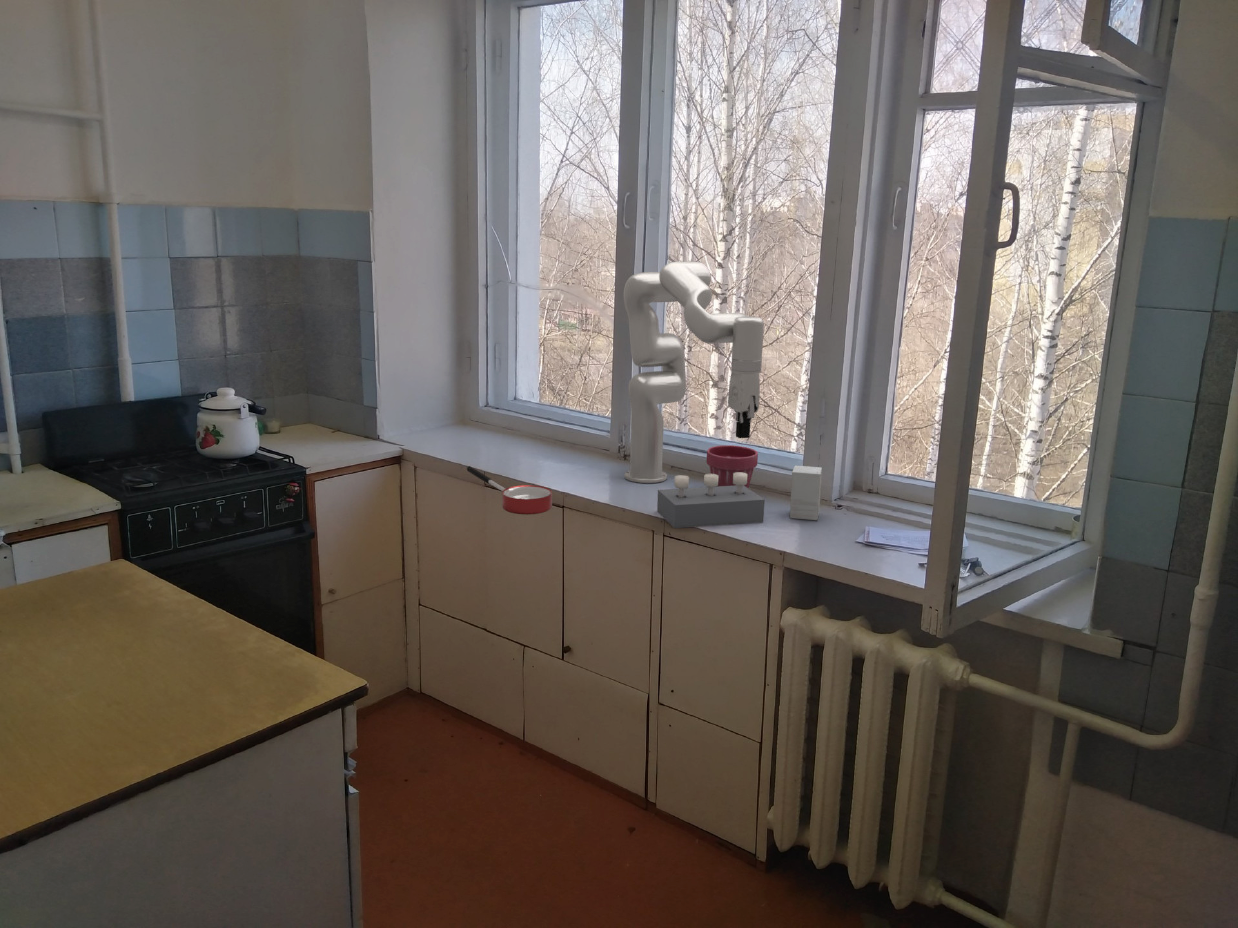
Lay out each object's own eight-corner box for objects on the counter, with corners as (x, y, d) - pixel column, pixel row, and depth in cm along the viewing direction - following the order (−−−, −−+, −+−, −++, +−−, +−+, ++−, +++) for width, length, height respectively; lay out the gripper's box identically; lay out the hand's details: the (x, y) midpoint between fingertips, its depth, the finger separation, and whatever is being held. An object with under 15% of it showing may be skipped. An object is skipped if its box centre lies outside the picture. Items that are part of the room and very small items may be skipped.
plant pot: (746, 505, 259) (749, 459, 255) (697, 498, 264) (699, 453, 261) (761, 492, 271) (764, 448, 268) (714, 485, 277) (716, 442, 274)
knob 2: (701, 500, 248) (702, 474, 246) (714, 499, 249) (715, 473, 247) (706, 504, 244) (707, 477, 243) (719, 503, 245) (720, 477, 244)
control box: (657, 511, 251) (657, 489, 249) (742, 506, 257) (743, 485, 256) (674, 528, 238) (675, 505, 236) (763, 522, 244) (764, 499, 243)
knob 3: (729, 498, 250) (731, 472, 248) (742, 498, 251) (744, 471, 249) (735, 502, 246) (736, 476, 245) (748, 501, 247) (749, 475, 246)
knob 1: (672, 502, 246) (672, 475, 244) (685, 501, 247) (686, 474, 245) (676, 506, 242) (677, 479, 240) (689, 505, 243) (691, 478, 241)
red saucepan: (444, 494, 263) (443, 471, 261) (479, 485, 273) (479, 463, 271) (527, 518, 243) (527, 494, 242) (562, 507, 253) (562, 484, 251)
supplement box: (819, 513, 253) (823, 467, 250) (817, 521, 246) (821, 473, 243) (791, 510, 255) (794, 464, 252) (788, 518, 248) (791, 471, 245)
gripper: (721, 362, 246) (718, 431, 250) (744, 371, 232) (740, 444, 236) (748, 361, 248) (744, 430, 252) (772, 370, 234) (768, 443, 238)
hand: (742, 437), depth 244 cm, fingers closed
